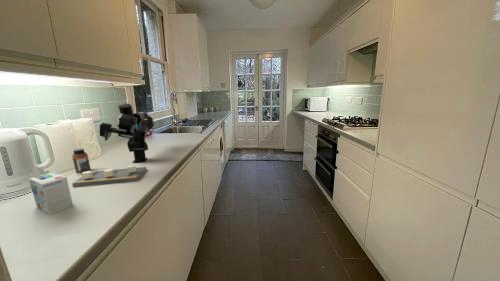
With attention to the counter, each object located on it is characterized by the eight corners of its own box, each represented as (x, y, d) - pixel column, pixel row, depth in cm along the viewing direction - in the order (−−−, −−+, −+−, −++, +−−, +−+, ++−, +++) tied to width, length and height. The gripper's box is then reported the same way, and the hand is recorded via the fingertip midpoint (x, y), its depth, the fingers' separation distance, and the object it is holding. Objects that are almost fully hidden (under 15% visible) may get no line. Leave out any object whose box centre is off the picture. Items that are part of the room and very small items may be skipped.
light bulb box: (35, 207, 71) (27, 178, 68) (60, 198, 77) (53, 171, 74) (49, 215, 66) (40, 184, 63) (74, 205, 72) (67, 176, 69)
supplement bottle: (75, 170, 104) (70, 149, 101) (90, 167, 108) (85, 147, 105) (76, 174, 100) (70, 151, 97) (91, 170, 103) (86, 149, 101)
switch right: (85, 177, 91) (84, 171, 90) (93, 176, 91) (91, 170, 91) (82, 178, 89) (81, 173, 88) (90, 178, 89) (89, 172, 89)
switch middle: (106, 175, 92) (105, 169, 92) (114, 174, 93) (113, 169, 92) (104, 177, 90) (103, 171, 90) (112, 176, 91) (111, 170, 90)
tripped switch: (129, 171, 97) (128, 165, 96) (136, 170, 97) (135, 165, 97) (128, 172, 95) (127, 167, 94) (135, 172, 95) (134, 166, 95)
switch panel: (91, 174, 99) (90, 170, 99) (146, 169, 104) (145, 166, 103) (72, 186, 86) (72, 183, 85) (137, 180, 90) (136, 177, 90)
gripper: (107, 107, 96) (92, 120, 83) (150, 116, 103) (142, 129, 89) (106, 128, 101) (92, 143, 87) (147, 135, 107) (140, 150, 94)
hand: (117, 141), depth 89 cm, fingers open, 9 cm apart
